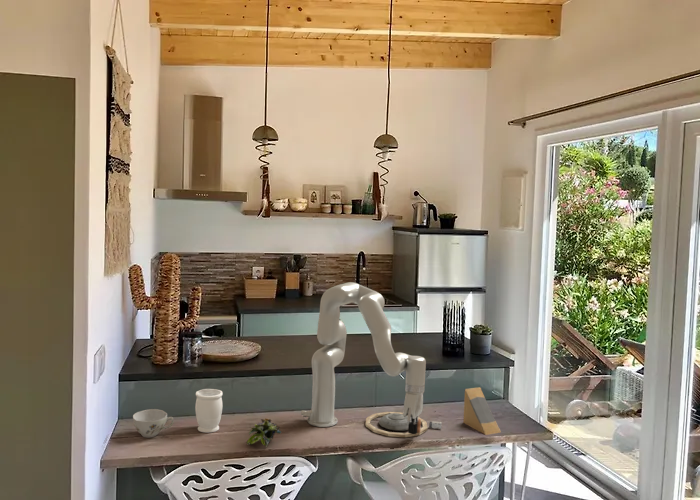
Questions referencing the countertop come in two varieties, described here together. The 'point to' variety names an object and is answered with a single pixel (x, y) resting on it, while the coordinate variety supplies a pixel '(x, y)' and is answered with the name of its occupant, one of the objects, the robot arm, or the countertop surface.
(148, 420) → the teacup
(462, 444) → the countertop surface
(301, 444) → the countertop surface
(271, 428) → the green leafy cluster
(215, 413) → the jar
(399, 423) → the flying saucer
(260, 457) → the countertop surface
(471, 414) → the sandwich container
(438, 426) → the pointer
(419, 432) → the turntable ring
